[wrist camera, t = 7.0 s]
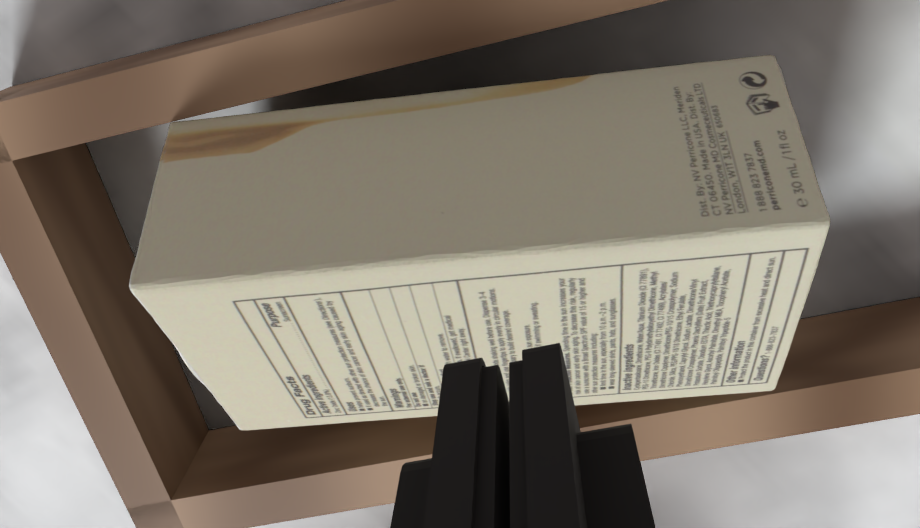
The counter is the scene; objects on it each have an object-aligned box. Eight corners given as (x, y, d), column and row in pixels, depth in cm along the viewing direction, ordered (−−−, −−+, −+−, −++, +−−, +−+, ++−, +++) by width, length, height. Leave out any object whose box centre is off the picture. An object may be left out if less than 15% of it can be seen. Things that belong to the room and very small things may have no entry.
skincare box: (784, 44, 16) (160, 100, 17) (847, 224, 14) (112, 279, 15) (735, 246, 22) (255, 281, 23) (773, 405, 19) (232, 436, 20)
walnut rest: (990, -167, 18) (1079, -174, 15) (994, 325, 22) (1064, 389, 19) (10, 86, 21) (-66, 118, 18) (184, 472, 25) (145, 545, 22)
